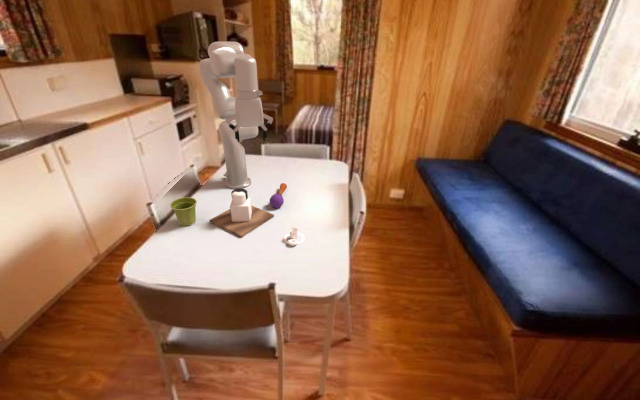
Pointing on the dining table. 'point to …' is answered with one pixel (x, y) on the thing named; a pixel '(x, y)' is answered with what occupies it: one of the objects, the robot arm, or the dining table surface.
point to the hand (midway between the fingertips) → (251, 140)
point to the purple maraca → (278, 197)
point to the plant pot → (185, 210)
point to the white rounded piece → (293, 237)
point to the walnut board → (243, 226)
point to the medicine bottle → (240, 206)
